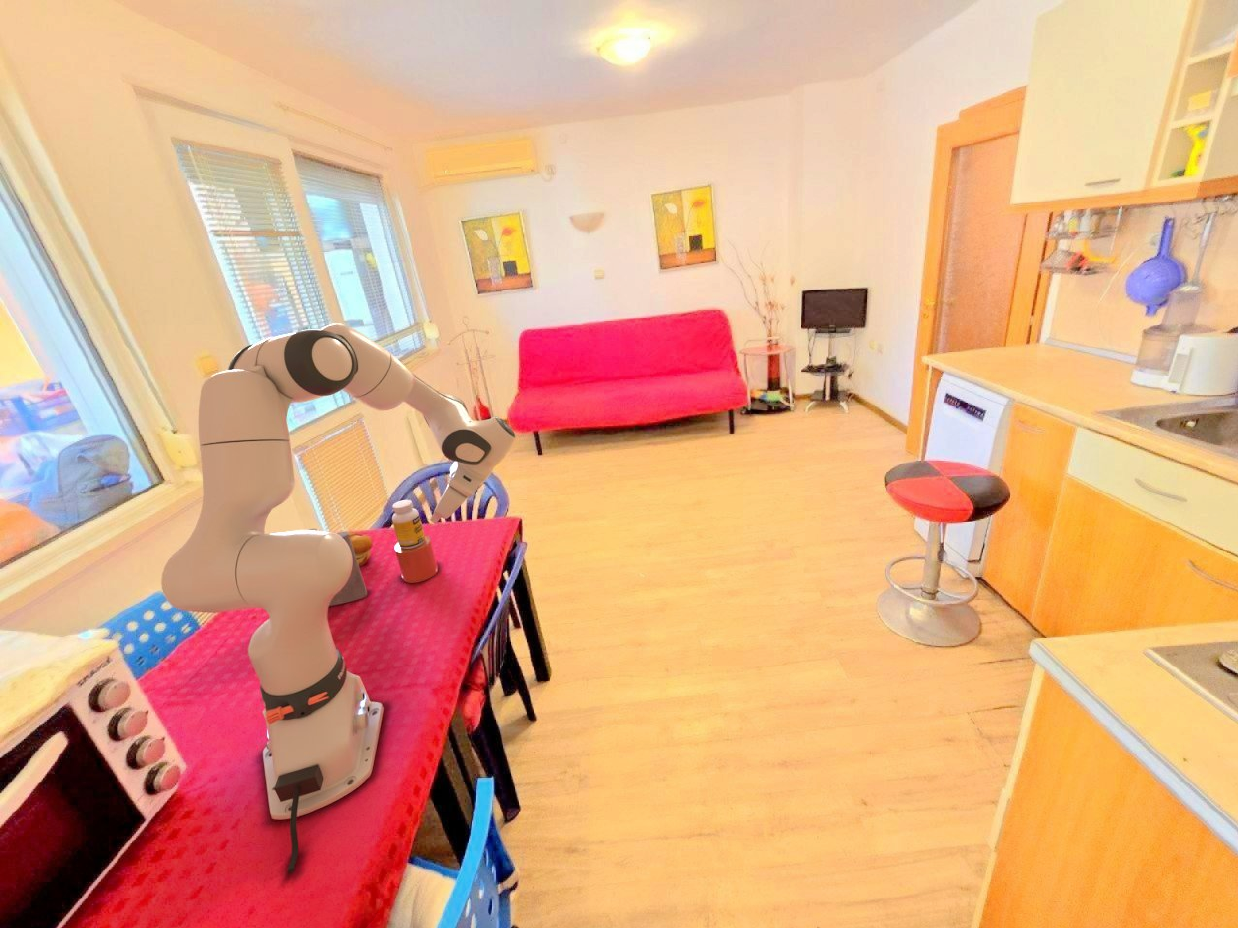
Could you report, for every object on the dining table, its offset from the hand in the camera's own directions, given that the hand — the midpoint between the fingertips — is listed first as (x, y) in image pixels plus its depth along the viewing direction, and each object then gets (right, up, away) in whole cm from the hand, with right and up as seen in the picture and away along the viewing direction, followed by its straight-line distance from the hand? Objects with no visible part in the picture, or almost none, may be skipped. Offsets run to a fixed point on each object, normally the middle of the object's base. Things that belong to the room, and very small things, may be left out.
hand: (437, 512), depth 129 cm
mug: (-7, -16, +7) cm, 19 cm away
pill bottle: (-7, -9, +2) cm, 12 cm away
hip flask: (-25, -22, -3) cm, 33 cm away
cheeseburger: (-29, -16, +14) cm, 35 cm away
